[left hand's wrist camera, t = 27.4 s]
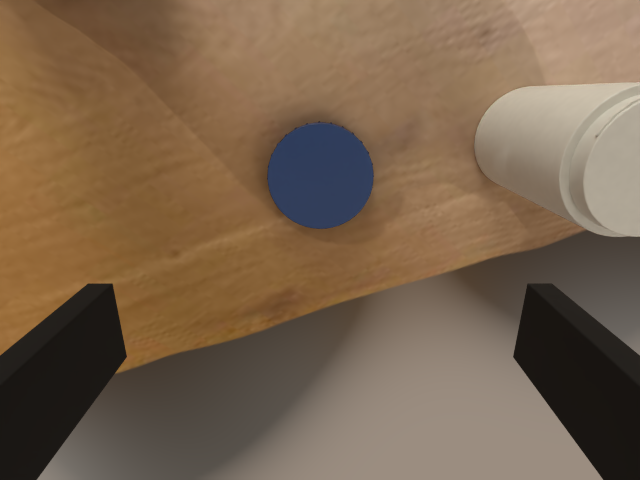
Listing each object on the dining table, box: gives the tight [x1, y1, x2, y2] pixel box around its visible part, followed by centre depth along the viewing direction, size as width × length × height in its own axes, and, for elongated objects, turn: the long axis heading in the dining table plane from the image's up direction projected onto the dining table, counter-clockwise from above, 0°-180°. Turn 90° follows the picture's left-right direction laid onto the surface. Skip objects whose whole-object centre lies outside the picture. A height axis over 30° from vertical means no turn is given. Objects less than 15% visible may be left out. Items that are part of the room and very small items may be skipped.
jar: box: [474, 82, 640, 237], centre depth 29 cm, size 9×9×15 cm
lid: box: [267, 121, 374, 229], centre depth 37 cm, size 10×10×2 cm
